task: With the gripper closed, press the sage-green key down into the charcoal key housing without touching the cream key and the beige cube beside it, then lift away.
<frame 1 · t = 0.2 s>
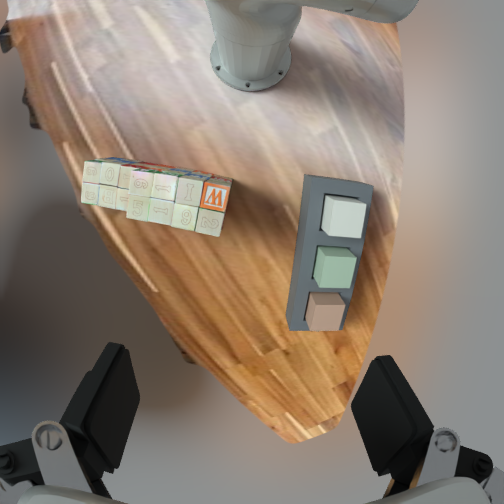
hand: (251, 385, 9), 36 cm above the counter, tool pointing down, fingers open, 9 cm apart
key housing: (322, 252, 47), on the counter
beige cube: (323, 310, 44), point 6 cm above the counter, slide at 0.0 cm
key sage: (333, 266, 41), point 6 cm above the counter, slide at 0.0 cm
key cream: (341, 215, 38), point 6 cm above the counter, slide at 0.0 cm
stack of blocks: (166, 183, 42), on the counter
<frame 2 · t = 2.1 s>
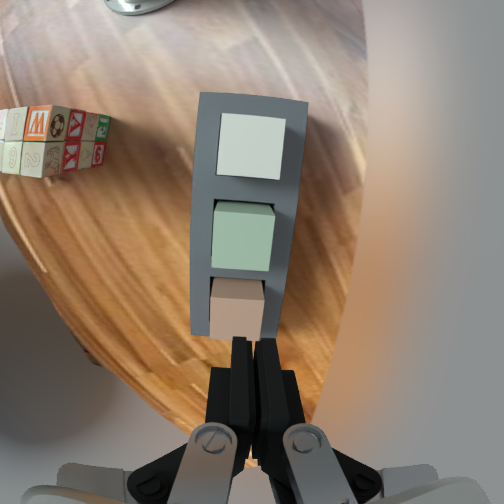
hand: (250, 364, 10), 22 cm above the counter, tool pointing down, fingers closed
key housing: (241, 218, 31), on the counter
beige cube: (236, 307, 28), point 6 cm above the counter, slide at 0.0 cm
key sage: (242, 233, 25), point 6 cm above the counter, slide at 0.0 cm
key cream: (249, 146, 23), point 6 cm above the counter, slide at 0.0 cm
stack of blocks: (46, 136, 26), on the counter
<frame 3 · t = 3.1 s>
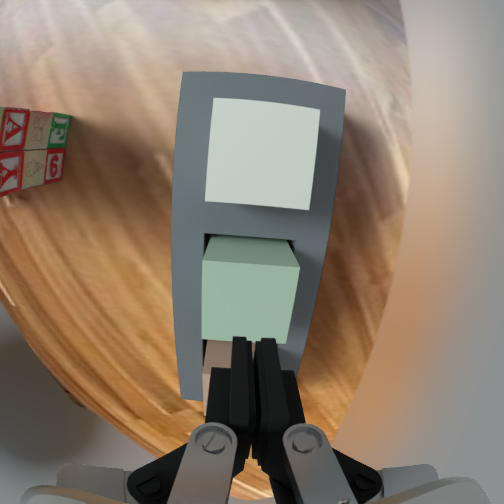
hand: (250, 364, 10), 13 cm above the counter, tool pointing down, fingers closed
key housing: (245, 252, 23), on the counter
beige cube: (238, 375, 20), point 6 cm above the counter, slide at 0.0 cm
key sage: (246, 285, 17), point 6 cm above the counter, slide at 0.0 cm
key cream: (259, 153, 14), point 6 cm above the counter, slide at 0.0 cm
stack of blocks: (4, 144, 18), on the counter
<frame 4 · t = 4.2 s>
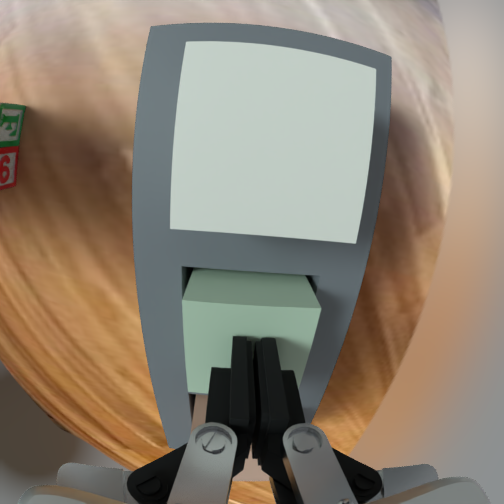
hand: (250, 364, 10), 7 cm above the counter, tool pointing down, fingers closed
key housing: (244, 280, 17), on the counter
beige cube: (236, 435, 14), point 6 cm above the counter, slide at 0.0 cm
key sage: (245, 322, 13), point 4 cm above the counter, slide at 1.5 cm, touching gripper
key cream: (267, 141, 8), point 6 cm above the counter, slide at 0.0 cm
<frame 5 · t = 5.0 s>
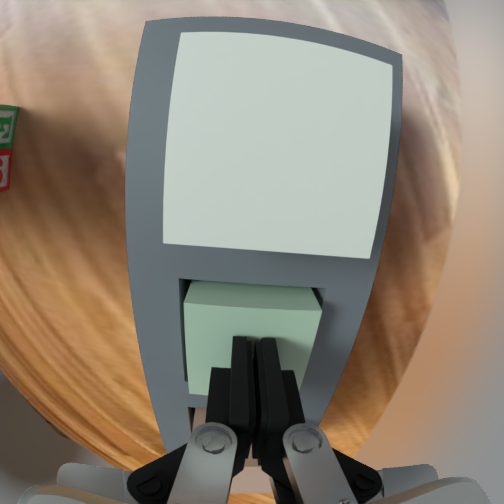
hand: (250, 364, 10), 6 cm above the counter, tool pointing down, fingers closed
key housing: (245, 289, 16), on the counter
beige cube: (237, 448, 13), point 6 cm above the counter, slide at 0.0 cm
key sage: (246, 324, 13), point 4 cm above the counter, slide at 2.4 cm, touching gripper
key cream: (271, 144, 8), point 6 cm above the counter, slide at 0.0 cm
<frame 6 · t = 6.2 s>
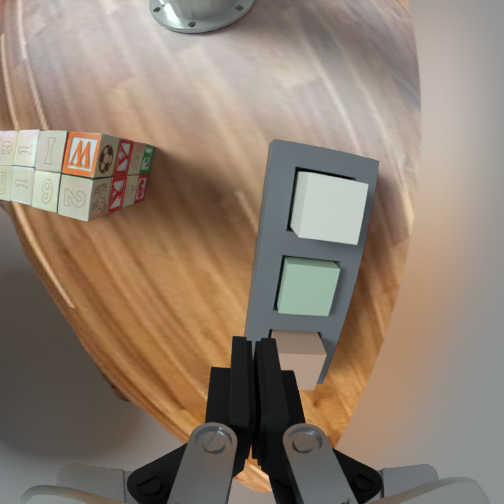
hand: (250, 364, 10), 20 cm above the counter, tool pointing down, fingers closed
key housing: (297, 268, 31), on the counter
beige cube: (292, 358, 27), point 6 cm above the counter, slide at 0.0 cm
key sage: (304, 281, 27), point 4 cm above the counter, slide at 2.4 cm
key cream: (325, 205, 23), point 6 cm above the counter, slide at 0.0 cm
stack of blocks: (75, 160, 26), on the counter
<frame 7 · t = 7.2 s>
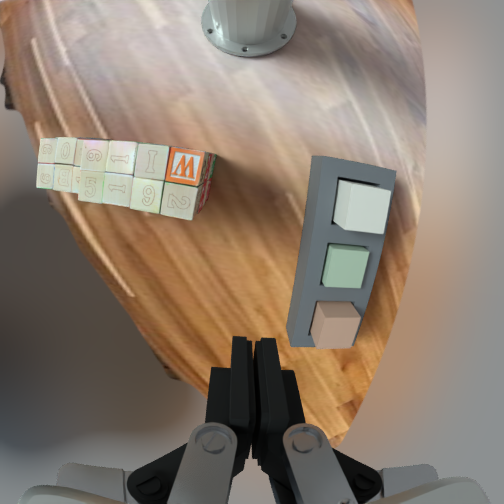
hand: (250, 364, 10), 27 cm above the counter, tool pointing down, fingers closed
key housing: (332, 252, 38), on the counter
beige cube: (333, 323, 35), point 6 cm above the counter, slide at 0.0 cm
key sage: (341, 261, 35), point 4 cm above the counter, slide at 2.4 cm
key cream: (359, 205, 30), point 6 cm above the counter, slide at 0.0 cm
stack of blocks: (137, 164, 33), on the counter
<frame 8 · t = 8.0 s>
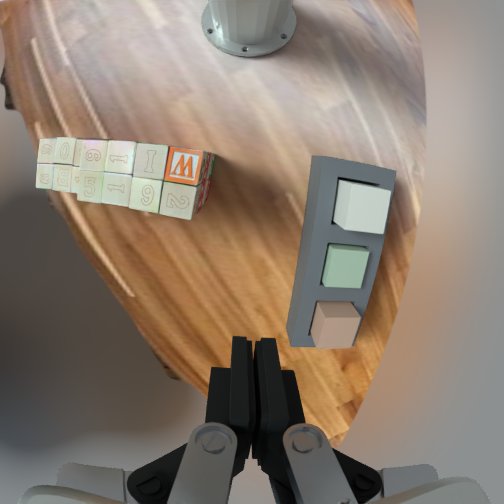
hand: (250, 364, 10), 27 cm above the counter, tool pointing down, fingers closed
key housing: (332, 252, 38), on the counter
beige cube: (333, 323, 35), point 6 cm above the counter, slide at 0.0 cm
key sage: (341, 261, 35), point 4 cm above the counter, slide at 2.4 cm
key cream: (359, 205, 30), point 6 cm above the counter, slide at 0.0 cm
stack of blocks: (137, 164, 33), on the counter
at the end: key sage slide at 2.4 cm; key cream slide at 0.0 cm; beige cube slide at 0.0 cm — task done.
